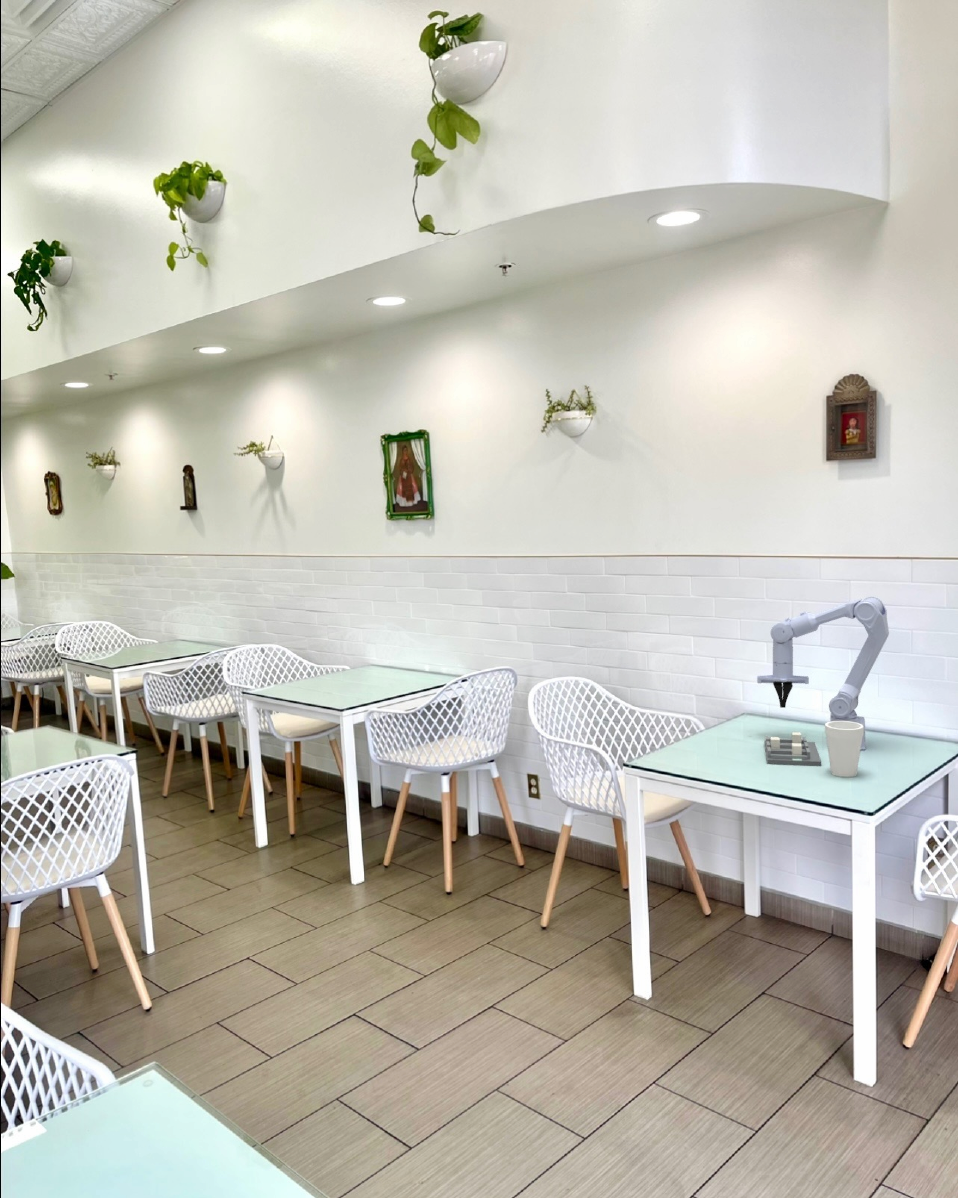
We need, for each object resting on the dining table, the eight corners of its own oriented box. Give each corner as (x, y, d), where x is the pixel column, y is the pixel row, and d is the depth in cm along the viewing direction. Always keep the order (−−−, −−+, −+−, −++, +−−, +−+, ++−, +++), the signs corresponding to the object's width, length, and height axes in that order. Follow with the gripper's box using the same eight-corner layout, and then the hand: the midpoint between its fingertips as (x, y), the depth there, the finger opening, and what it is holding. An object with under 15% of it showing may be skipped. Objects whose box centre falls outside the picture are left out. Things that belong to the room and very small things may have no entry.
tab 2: (800, 743, 274) (800, 732, 273) (801, 746, 271) (801, 735, 271) (791, 743, 274) (791, 732, 274) (792, 745, 271) (792, 734, 271)
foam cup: (865, 779, 243) (865, 730, 242) (827, 778, 246) (827, 729, 244) (859, 768, 253) (860, 721, 251) (823, 767, 255) (823, 720, 253)
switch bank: (814, 746, 275) (814, 735, 275) (821, 766, 256) (821, 754, 256) (764, 744, 279) (764, 734, 278) (767, 764, 260) (767, 752, 259)
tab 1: (779, 748, 270) (779, 737, 269) (779, 751, 267) (779, 740, 266) (770, 747, 270) (770, 737, 270) (770, 750, 267) (770, 739, 267)
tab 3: (800, 754, 262) (800, 743, 262) (801, 757, 260) (801, 746, 259) (791, 754, 263) (791, 743, 263) (792, 757, 260) (792, 746, 260)
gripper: (758, 664, 279) (758, 709, 280) (809, 664, 276) (809, 710, 277) (756, 660, 286) (756, 704, 287) (807, 660, 282) (807, 705, 284)
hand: (782, 706), depth 283 cm, fingers closed
